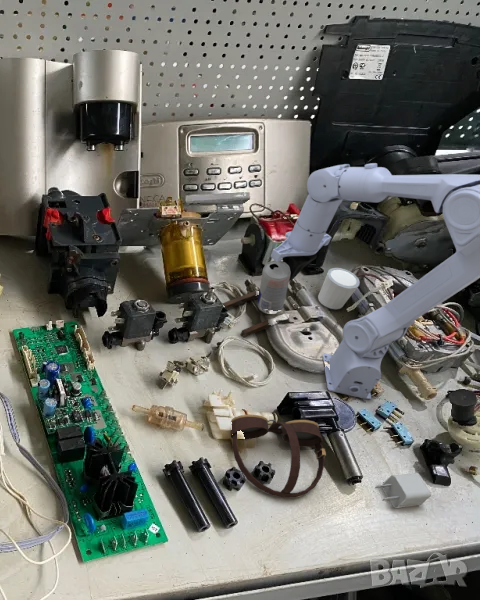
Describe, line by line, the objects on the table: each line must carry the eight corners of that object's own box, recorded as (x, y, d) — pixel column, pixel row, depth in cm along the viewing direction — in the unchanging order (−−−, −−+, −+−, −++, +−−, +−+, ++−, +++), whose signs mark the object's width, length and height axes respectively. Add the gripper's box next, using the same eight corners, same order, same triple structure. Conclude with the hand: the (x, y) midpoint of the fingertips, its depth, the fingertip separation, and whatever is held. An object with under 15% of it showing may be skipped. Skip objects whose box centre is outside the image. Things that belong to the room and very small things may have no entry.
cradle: (258, 293, 119) (261, 288, 118) (287, 319, 113) (290, 314, 112) (215, 310, 113) (216, 305, 112) (243, 338, 108) (245, 333, 107)
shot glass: (308, 294, 120) (320, 271, 115) (330, 287, 122) (343, 264, 118) (330, 314, 116) (343, 291, 111) (352, 307, 118) (366, 283, 113)
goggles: (309, 430, 92) (336, 408, 84) (322, 508, 85) (353, 492, 77) (223, 421, 92) (241, 398, 84) (228, 498, 85) (249, 482, 77)
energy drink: (274, 292, 117) (281, 256, 108) (288, 310, 113) (296, 273, 104) (252, 301, 116) (258, 265, 107) (265, 318, 113) (272, 283, 104)
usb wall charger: (419, 506, 84) (432, 494, 81) (380, 511, 83) (393, 499, 80) (404, 483, 87) (416, 470, 84) (366, 487, 86) (378, 475, 83)
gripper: (321, 205, 106) (296, 258, 115) (269, 221, 100) (248, 275, 110) (349, 224, 102) (321, 277, 111) (297, 242, 96) (272, 296, 105)
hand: (286, 277), depth 110 cm, fingers closed
